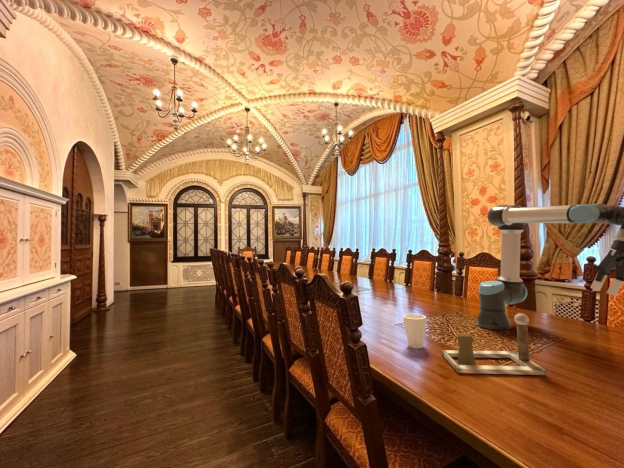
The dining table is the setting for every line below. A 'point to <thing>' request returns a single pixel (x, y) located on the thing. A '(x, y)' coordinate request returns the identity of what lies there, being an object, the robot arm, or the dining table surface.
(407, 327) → the foam cup
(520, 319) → the joystick on frame
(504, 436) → the dining table surface
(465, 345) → the cork
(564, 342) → the dining table surface
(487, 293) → the robot arm
